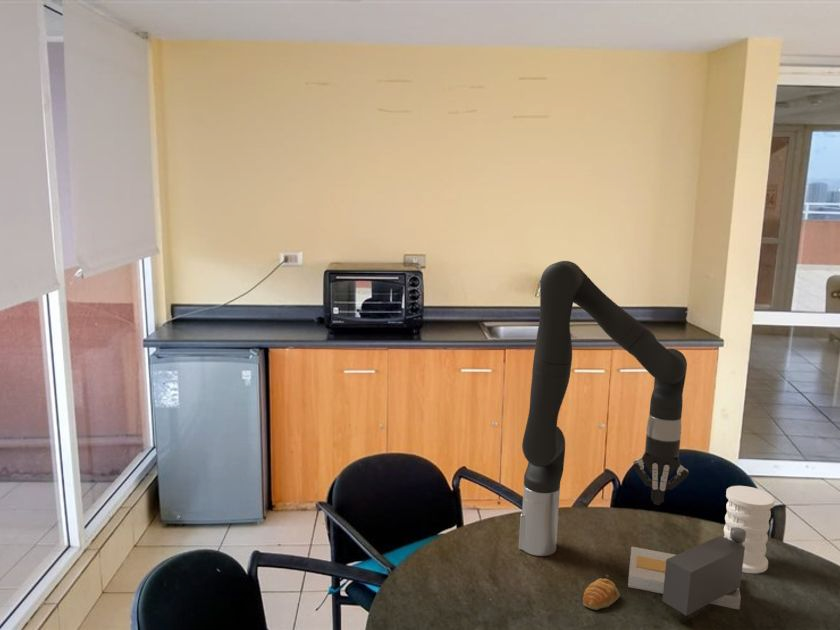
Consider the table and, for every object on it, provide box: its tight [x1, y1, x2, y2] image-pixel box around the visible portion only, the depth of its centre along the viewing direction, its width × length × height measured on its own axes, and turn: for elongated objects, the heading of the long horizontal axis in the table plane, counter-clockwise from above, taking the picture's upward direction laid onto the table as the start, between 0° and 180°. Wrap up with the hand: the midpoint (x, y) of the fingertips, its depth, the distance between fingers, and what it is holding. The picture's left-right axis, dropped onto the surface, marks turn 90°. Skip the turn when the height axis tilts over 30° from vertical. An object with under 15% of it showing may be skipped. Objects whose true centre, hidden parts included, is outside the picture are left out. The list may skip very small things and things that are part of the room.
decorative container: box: [723, 485, 775, 574], centre depth 168 cm, size 12×12×18 cm
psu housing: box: [627, 540, 743, 610], centre depth 158 cm, size 24×14×13 cm, turn 70°
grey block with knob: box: [661, 527, 746, 616], centre depth 148 cm, size 24×6×12 cm, turn 123°
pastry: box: [582, 577, 620, 611], centre depth 151 cm, size 9×7×4 cm
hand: (657, 503), depth 158 cm, fingers closed
